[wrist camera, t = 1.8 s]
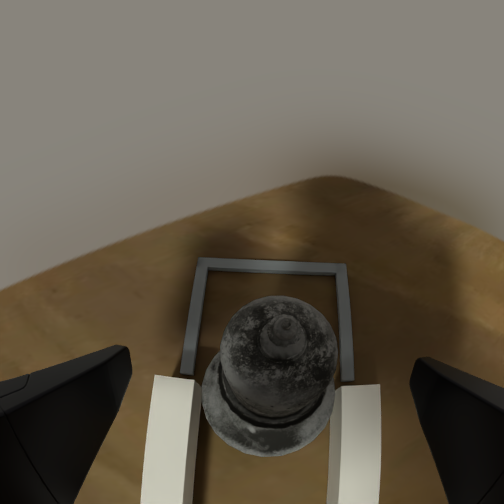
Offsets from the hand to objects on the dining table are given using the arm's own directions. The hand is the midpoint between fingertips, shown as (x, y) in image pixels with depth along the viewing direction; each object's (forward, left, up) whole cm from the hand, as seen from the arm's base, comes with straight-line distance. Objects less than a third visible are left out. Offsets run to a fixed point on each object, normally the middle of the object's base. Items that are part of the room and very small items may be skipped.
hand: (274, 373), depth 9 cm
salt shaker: (0, 0, -8) cm, 8 cm away
